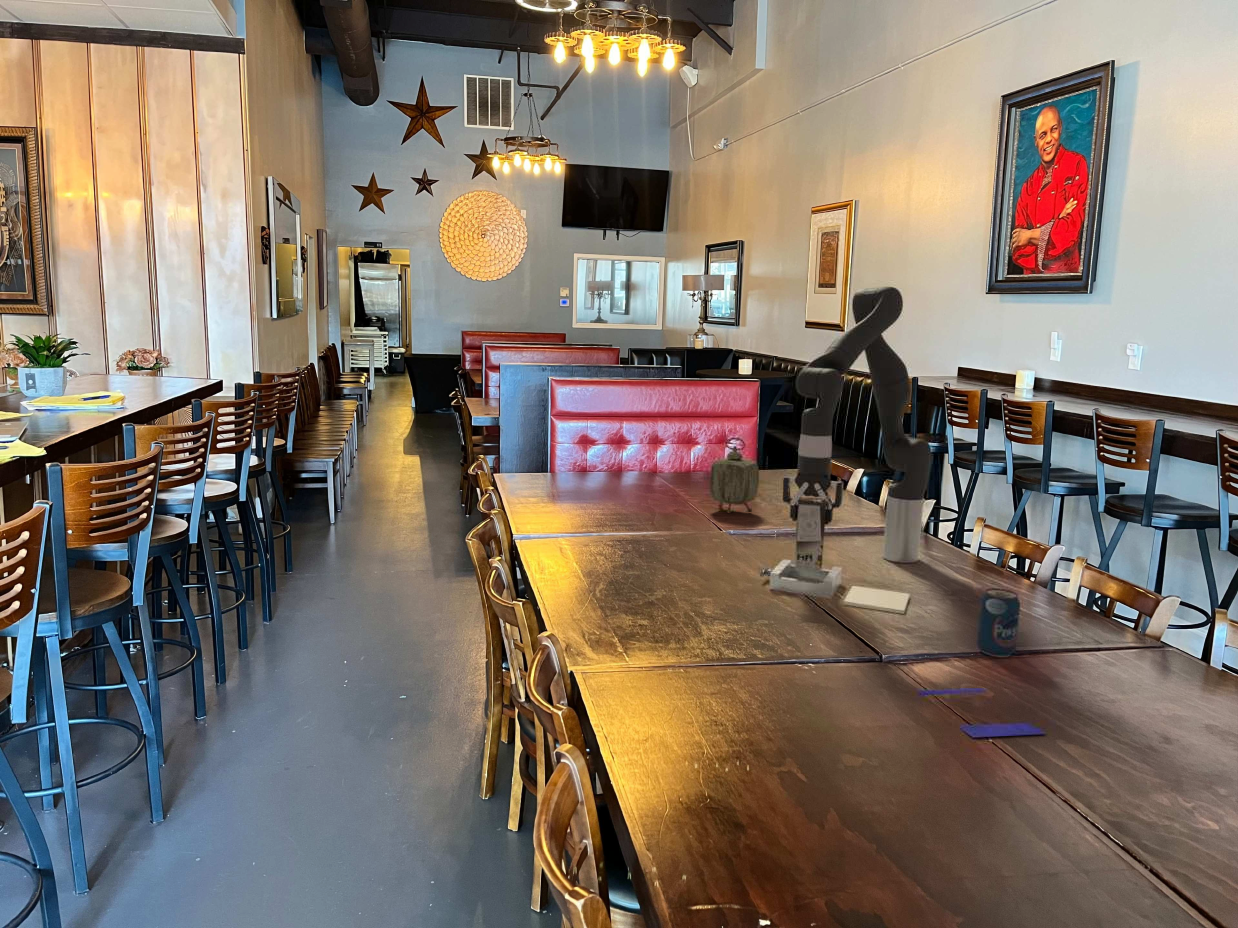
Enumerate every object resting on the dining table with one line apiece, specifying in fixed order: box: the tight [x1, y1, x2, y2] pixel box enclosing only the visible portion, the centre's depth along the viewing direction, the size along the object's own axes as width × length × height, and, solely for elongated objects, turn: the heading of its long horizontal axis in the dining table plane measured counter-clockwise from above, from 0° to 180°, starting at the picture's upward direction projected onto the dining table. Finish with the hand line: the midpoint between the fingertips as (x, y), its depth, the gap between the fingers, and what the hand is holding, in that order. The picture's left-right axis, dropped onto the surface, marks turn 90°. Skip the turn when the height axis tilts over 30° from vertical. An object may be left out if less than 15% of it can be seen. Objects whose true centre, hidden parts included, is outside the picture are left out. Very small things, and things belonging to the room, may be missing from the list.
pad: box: [843, 585, 911, 615], centre depth 196 cm, size 13×13×1 cm
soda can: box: [976, 587, 1021, 658], centre depth 166 cm, size 7×7×12 cm
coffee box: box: [794, 497, 827, 573], centre depth 203 cm, size 9×6×16 cm
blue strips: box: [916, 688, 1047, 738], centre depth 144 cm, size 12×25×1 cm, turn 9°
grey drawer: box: [759, 559, 843, 599], centre depth 206 cm, size 13×18×4 cm
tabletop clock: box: [709, 437, 760, 513], centre depth 282 cm, size 14×9×25 cm, turn 58°
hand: (810, 522), depth 203 cm, fingers closed on coffee box, 7 cm apart
